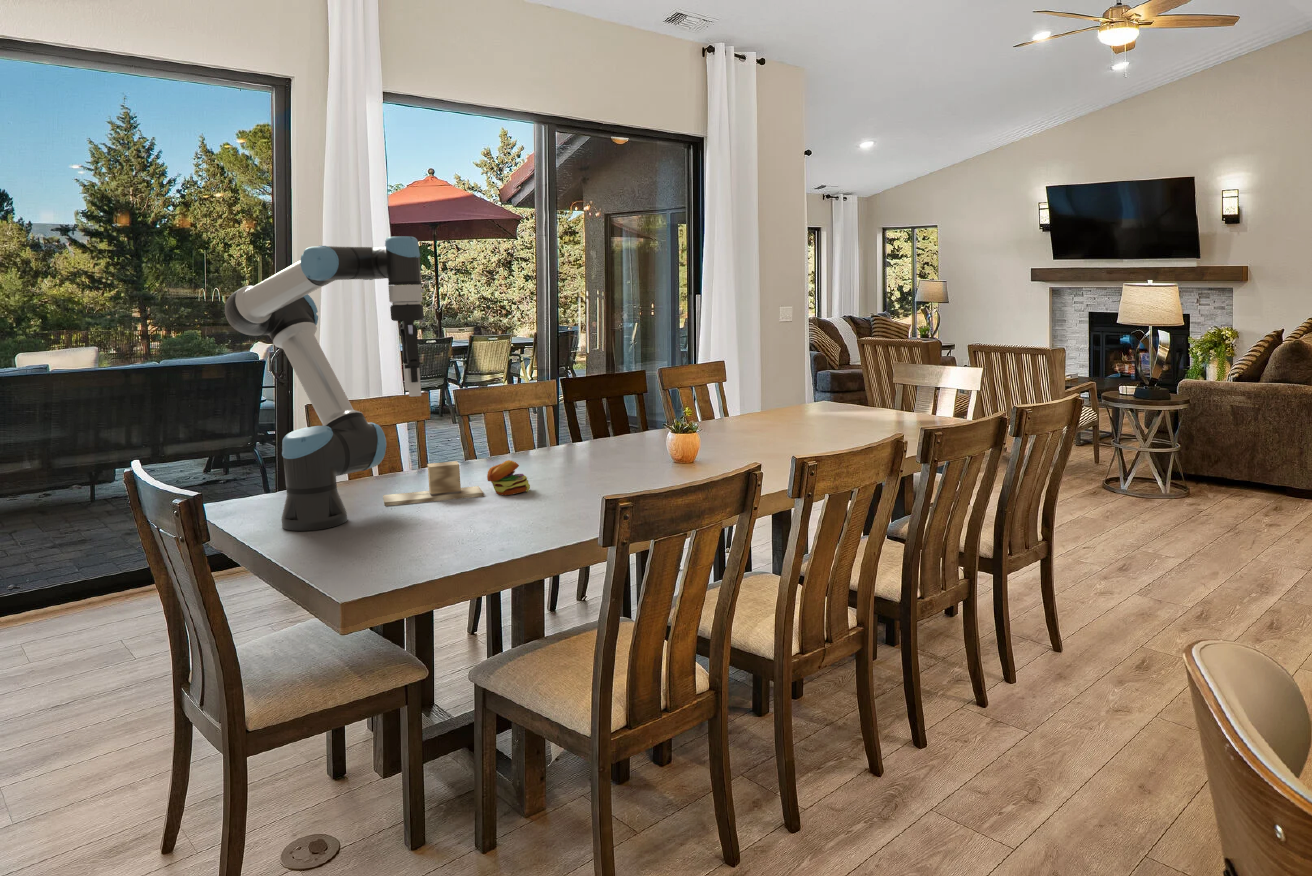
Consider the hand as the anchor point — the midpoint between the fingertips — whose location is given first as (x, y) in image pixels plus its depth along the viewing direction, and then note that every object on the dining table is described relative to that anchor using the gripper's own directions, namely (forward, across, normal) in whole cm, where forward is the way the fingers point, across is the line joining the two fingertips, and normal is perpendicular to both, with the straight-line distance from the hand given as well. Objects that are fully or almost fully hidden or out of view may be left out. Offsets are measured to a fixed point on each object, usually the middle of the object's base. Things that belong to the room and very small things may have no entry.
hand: (413, 393), depth 220 cm
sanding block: (+31, +26, -8) cm, 41 cm away
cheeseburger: (+32, +23, -25) cm, 47 cm away
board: (+32, +26, -5) cm, 41 cm away
